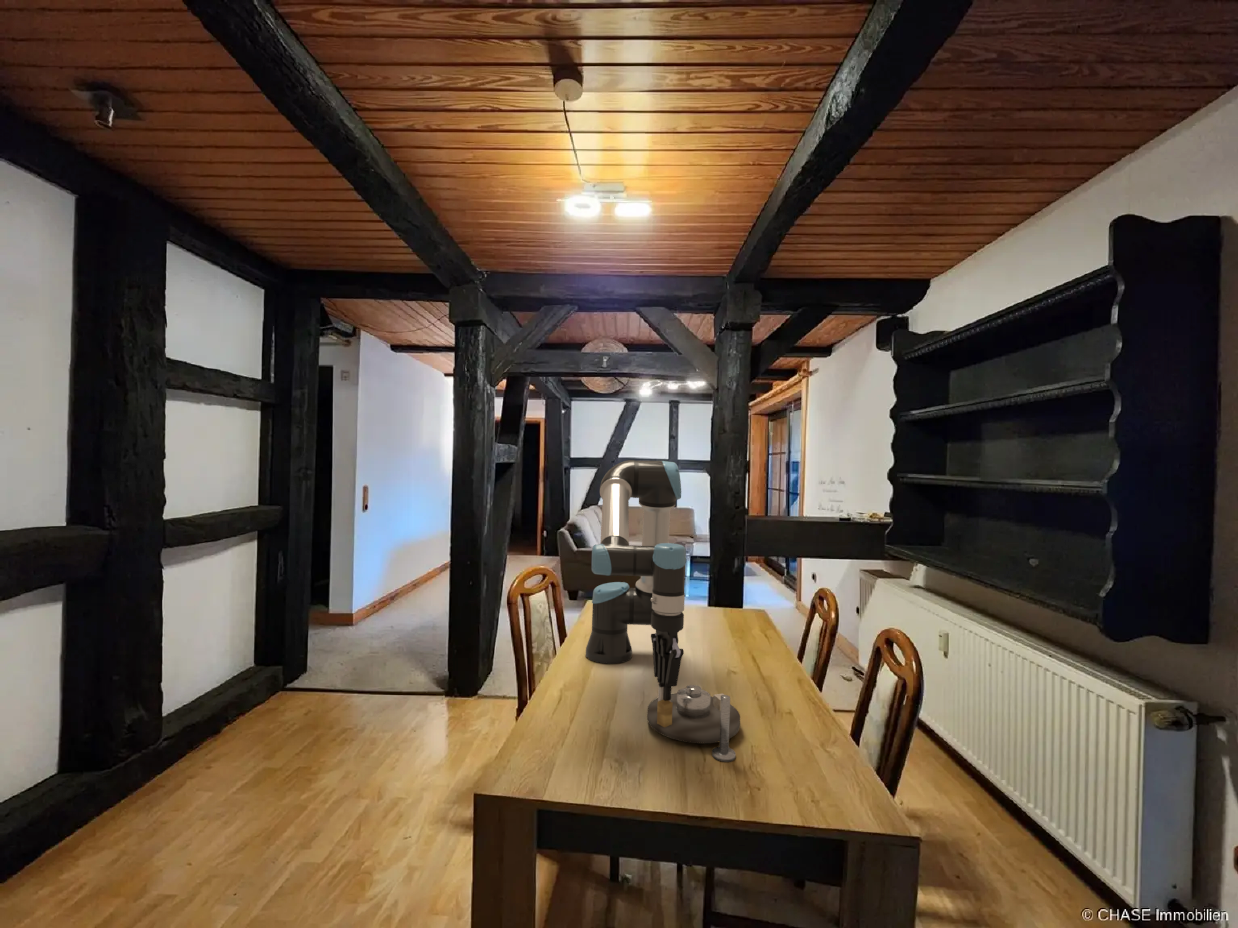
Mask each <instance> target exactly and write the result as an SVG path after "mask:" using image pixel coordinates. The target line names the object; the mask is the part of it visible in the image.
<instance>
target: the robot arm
mask: <svg viewBox="0 0 1238 928" xmlns="http://www.w3.org/2000/svg"><path fill="white" fill-rule="evenodd" d="M679 469H680V468H679V466H678V465H677V462H674V461H667V460H665V461H664V460H633V459H632V460H631V459H629V460H624V461H622V462H619V463H617V464H615V465H613V466H612V467H611V468H610V469H609V470H607V472H606V473H605V475H604V476H603V478H602V480H601V482H600V486H599V495H600V498H601V500H602V508H601V509H602V510H601V523H600V524H601V527H600V528H601V529H600V543H599V544H593V546H592V549H591V572H592V573H593V574H594V575H600V576H607V577H608V576H612V577H613V576H617V577H619V576H620V577H621V576H625V577H626V576H629V577H640V578H639V579H638V580H637V581H636V582H635V587H630V585H629V583H627V582H625V581H623V582H621V581H614V582H607V583H602V584H600V585H598V586H596V587H595V588H594V589H593V591H592V600H591V604H592V609H591V610H592V612H591V613H592V615H591V616H592V617H591V632H590V636H589V638H588V641H587V644H586V647H585V657H586V658H587V657H588V658H589V659H588V658H587V659H588V660H590V661H592V662H594V661H596V662H595V663H599V662H600V663H599V664H609V665H610V664H612V665H613V664H620V663H625V662H627V661H630V660H631V659H632V657H633V648H632V645H631V641H630V638H629V633H628V626H629V625H630V626H631V625H634V626H651V628H653V630H655V633H651V634H650V640H651V643H652V644H651V645H652V661H653V673H654V674H653V675H654V677H655V678H656V681H657V683H658V691H657V693H658V695H657V698H658V701H661V700H664V701H670V702H671V694H672V687H677V686H678V680H679V675H680V668H681V663H682V658H683V655H684V653H685V651H684V648H679V635H678V633H679V632H680V631H682V630H683V629H684V625H685V624H684V623H685V620H684V619H685V615H684V613H683V612H684V611H685V601H686V600H685V596H686V593H685V586H686V584H685V583H686V582H685V581H686V565H687V556H686V555H687V554H686V553H687V551H686V547H685V546H684V545H682V544H678V543H673V542H670V531H671V528H670V525H671V510H672V509H673V508H675V507H676V505H677V501H679V500H680V499H681V498H682V482H681V481H682V480H681V475H680V470H679ZM631 498H633V499H638V504H639V506H640V507H642V509H643V510H642V513H643V514H642V534H641V545H634V544H633V545H632V544H631V545H630V514H629V513H630V511H629V509H630V508H629V507H630V503H629V501H630V499H631Z"/></svg>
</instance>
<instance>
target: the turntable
mask: <svg viewBox="0 0 1238 928" xmlns="http://www.w3.org/2000/svg"><path fill="white" fill-rule="evenodd" d="M646 713H647V714H646V715H647V716H646V717H647V719H646V720H647V723H648V724H649V726H650V727H651V728H652V729H654V730H655V732H657V733H658V734H660V735H663V736H665V737H666V738H669V739H673V740H676V741H679V742H684V743H691V744H714V743H719V739H720V711H719V710H718V709H717V708H715V707H714V706H713V696H711V695H710V715H709V716H707V717H705V718H700V719H693V718H687V717H684V716H682V715H680V714H679V713H678V712H677V692H675V693H671V702H670V701H664V700H661V701H658V697H656V698H655V699H653V700H652V701H651V702H650V703H649V704H648V706H647V712H646ZM740 727H741V714H740V712H739V711H738V709H737V708H736V707H735V706H734V705H732V704H731V703H730V719H729V739H731V738H732V737H735V736H736V735H737V734H738V733H739V731H740V729H741V728H740Z"/></svg>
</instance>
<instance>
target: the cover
mask: <svg viewBox="0 0 1238 928" xmlns="http://www.w3.org/2000/svg"><path fill="white" fill-rule="evenodd" d="M676 693H677V712H678V713H679V714H680V715H682V716H684V717H687V718H693V719H700V718H705V717H707V716H709V715H710V696H711V693H709V692H708V691H707V690H705V689H702V687H701V686H700V685H698V684H697V685H696V684H689V685H687V686H686V687H685V688H681V689H678V691H677V692H676Z"/></svg>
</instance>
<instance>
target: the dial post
mask: <svg viewBox="0 0 1238 928" xmlns="http://www.w3.org/2000/svg"><path fill="white" fill-rule="evenodd" d="M712 697H713V706H714V707H715V708H717V709H718V710H719V711H720V739H719V742H718V744H719V745H718V746H715V747H713V748H712V750H711V756H712V757H713V759H714V760H715V761H718V762H722V763H731V762H733V761H735V760H736V752H735V750H734V749H733V748H731V747H730V746H729V745H730V742H729V741H730V738H729V719H730V704H731V696H730V695H727V694H724V693H716V694H713V696H712Z"/></svg>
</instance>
